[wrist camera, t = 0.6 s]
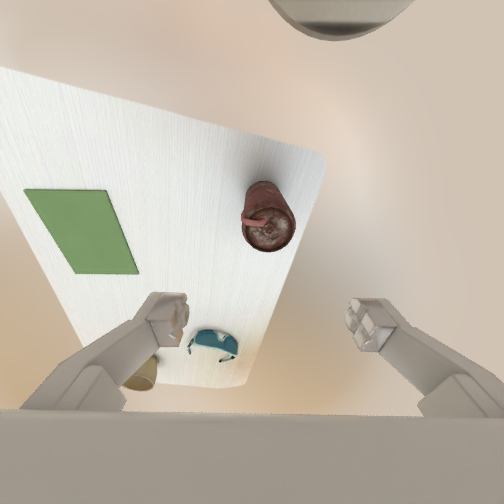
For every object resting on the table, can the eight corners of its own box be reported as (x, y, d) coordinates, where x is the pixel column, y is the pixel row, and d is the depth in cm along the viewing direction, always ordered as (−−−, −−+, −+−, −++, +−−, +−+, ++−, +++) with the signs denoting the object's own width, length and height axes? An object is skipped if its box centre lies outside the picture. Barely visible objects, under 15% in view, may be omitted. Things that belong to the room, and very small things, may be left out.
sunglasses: (245, 338, 52) (243, 356, 48) (226, 356, 60) (223, 373, 56) (199, 323, 49) (193, 342, 45) (185, 344, 57) (179, 362, 53)
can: (248, 176, 29) (244, 197, 17) (284, 185, 30) (305, 210, 18) (241, 211, 32) (234, 249, 20) (274, 218, 33) (287, 259, 21)
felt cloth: (25, 189, 31) (22, 190, 30) (106, 190, 31) (104, 191, 30) (76, 272, 40) (75, 273, 40) (139, 273, 40) (138, 274, 40)
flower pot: (170, 361, 59) (160, 387, 53) (148, 369, 61) (136, 394, 55) (148, 346, 54) (134, 372, 48) (125, 355, 57) (109, 380, 51)
